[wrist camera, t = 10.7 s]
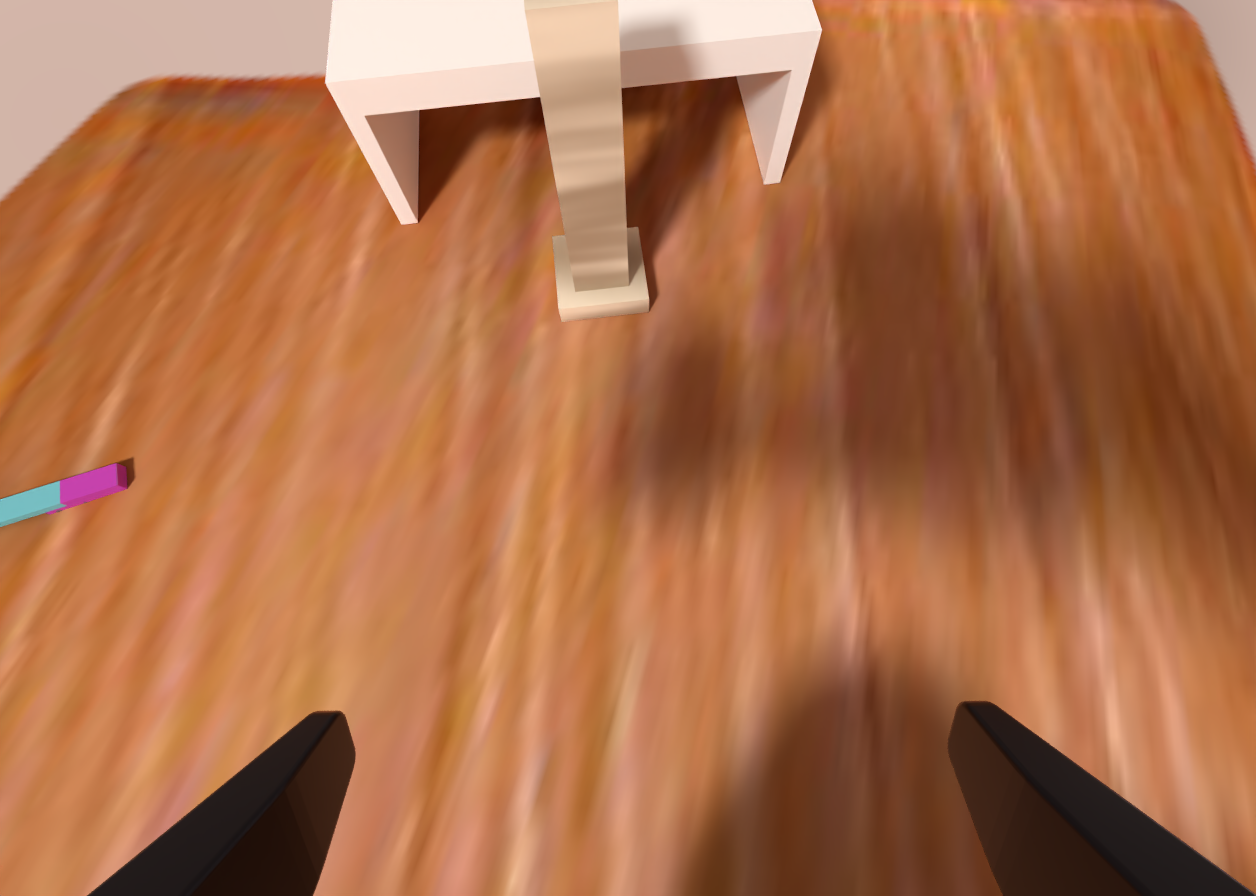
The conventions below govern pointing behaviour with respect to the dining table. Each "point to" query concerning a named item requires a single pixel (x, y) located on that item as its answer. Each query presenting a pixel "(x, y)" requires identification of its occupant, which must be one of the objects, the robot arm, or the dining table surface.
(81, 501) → the squeegee
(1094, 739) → the dining table surface
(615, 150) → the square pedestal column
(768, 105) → the white footstool bench
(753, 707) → the dining table surface
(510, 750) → the dining table surface
